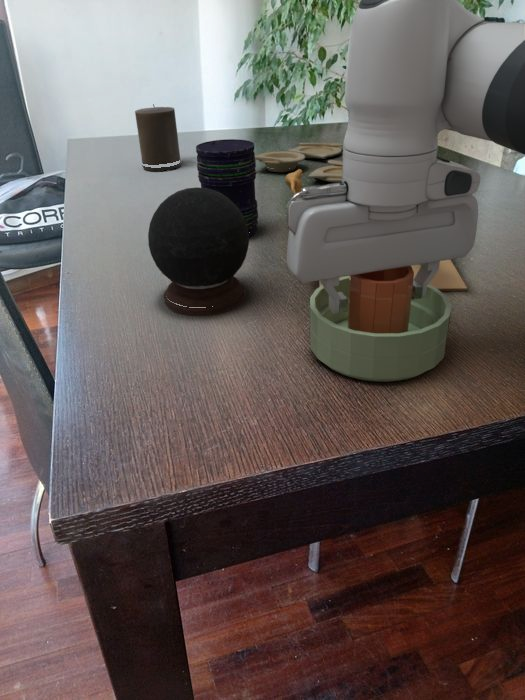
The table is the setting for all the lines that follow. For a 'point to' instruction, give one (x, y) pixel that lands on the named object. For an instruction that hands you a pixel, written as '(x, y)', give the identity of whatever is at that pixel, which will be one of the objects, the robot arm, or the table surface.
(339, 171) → the tableware set
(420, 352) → the bowl
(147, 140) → the pillar candle
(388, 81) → the robot arm
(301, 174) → the figurine
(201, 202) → the black ball on stand
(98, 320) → the table surface
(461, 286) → the placemat
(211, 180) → the storage jar
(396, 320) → the cup
